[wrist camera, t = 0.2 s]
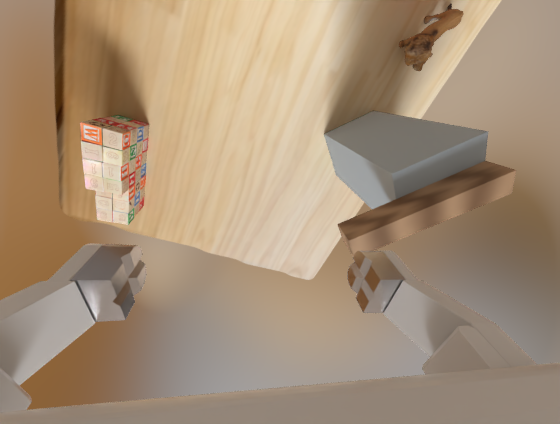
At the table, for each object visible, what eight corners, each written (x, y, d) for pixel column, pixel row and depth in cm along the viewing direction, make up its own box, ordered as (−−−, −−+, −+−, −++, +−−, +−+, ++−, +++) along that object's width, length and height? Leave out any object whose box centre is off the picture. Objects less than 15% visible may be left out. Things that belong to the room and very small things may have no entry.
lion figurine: (396, 76, 50) (424, 74, 42) (384, 57, 47) (411, 51, 40) (453, 16, 45) (496, 1, 38) (443, -9, 43) (486, -30, 35)
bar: (343, 240, 34) (354, 258, 30) (337, 224, 32) (348, 240, 28) (483, 181, 32) (511, 193, 28) (485, 160, 30) (516, 170, 26)
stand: (336, 175, 60) (401, 237, 35) (323, 134, 54) (391, 173, 29) (380, 155, 59) (480, 204, 34) (373, 110, 53) (488, 131, 28)
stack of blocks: (144, 206, 57) (121, 233, 46) (117, 200, 55) (87, 227, 44) (149, 123, 47) (122, 133, 37) (117, 113, 46) (78, 121, 35)
